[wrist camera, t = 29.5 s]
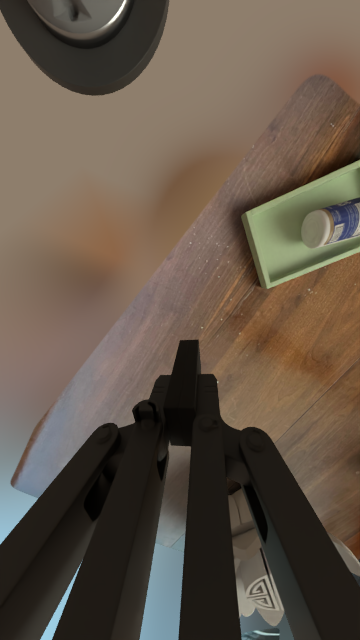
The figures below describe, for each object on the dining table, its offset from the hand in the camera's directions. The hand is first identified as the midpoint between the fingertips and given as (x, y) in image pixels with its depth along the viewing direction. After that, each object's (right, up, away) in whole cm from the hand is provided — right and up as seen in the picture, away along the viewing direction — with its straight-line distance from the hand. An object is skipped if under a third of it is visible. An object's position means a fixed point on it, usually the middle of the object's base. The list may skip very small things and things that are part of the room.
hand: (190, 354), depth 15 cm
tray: (+21, +18, +15) cm, 31 cm away
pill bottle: (+19, +16, +12) cm, 28 cm away
